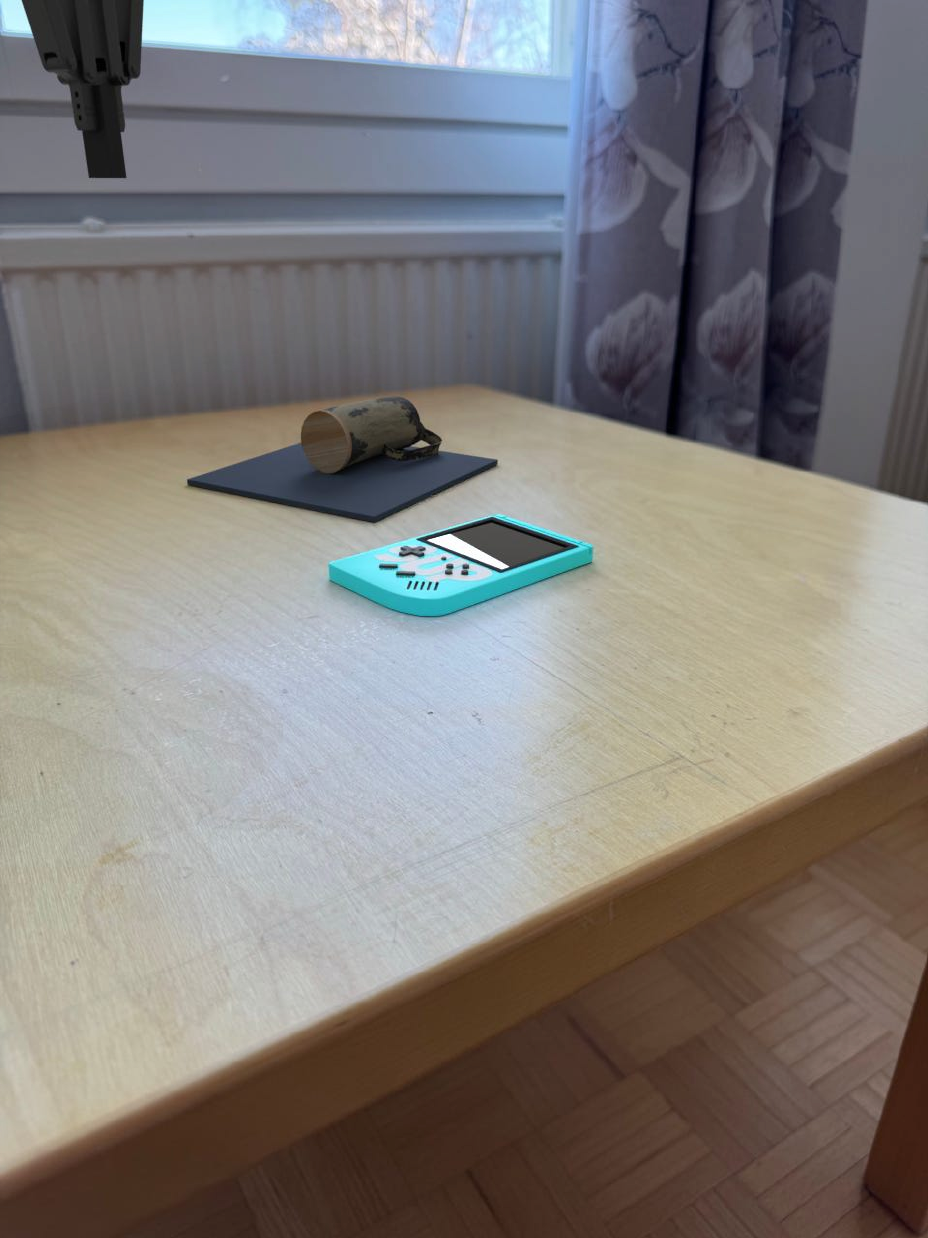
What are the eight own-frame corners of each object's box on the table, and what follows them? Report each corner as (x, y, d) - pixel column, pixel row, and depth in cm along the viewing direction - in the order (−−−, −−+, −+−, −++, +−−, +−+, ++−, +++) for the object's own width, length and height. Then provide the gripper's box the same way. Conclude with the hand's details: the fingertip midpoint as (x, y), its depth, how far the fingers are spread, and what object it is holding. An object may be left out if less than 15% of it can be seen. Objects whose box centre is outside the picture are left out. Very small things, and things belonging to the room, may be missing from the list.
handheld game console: (324, 577, 64) (323, 558, 64) (496, 526, 74) (496, 509, 74) (421, 624, 58) (420, 603, 57) (596, 560, 67) (597, 542, 67)
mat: (187, 484, 84) (186, 479, 84) (328, 437, 100) (328, 433, 100) (374, 522, 75) (374, 516, 75) (497, 464, 91) (497, 459, 90)
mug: (307, 398, 84) (392, 380, 93) (293, 452, 87) (376, 430, 96) (374, 443, 82) (454, 421, 91) (356, 498, 85) (435, 471, 94)
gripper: (96, -156, 75) (137, 178, 84) (-61, -210, 65) (6, 177, 74) (165, -172, 71) (200, 178, 81) (11, -232, 61) (72, 177, 71)
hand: (107, 177), depth 78 cm, fingers closed
